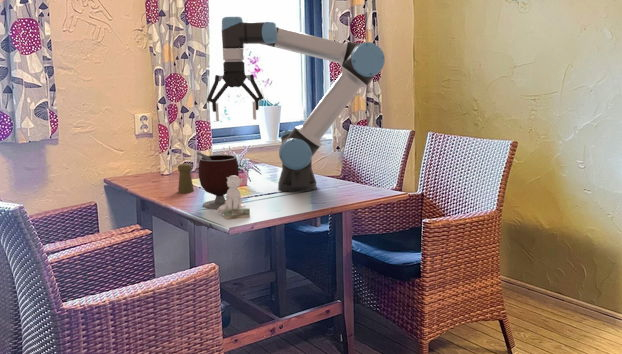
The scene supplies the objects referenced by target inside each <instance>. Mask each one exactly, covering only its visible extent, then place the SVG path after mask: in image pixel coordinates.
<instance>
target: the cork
mask: <svg viewBox="0 0 622 354" xmlns="http://www.w3.org/2000/svg"><path fill="white" fill-rule="evenodd" d="M177 170H178V172H179V177H178V187H177V188H178V190H177V192H178V193H179V194H189V193H194V191H195V190H194V183H193V180H192V179H193V178H192V175H191V172H192V165H191V164H190V163H186V162H185V163H179V165H178V166H177Z"/></svg>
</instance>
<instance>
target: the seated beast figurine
mask: <svg viewBox="0 0 622 354" xmlns="http://www.w3.org/2000/svg"><path fill="white" fill-rule="evenodd" d="M226 178H227V180H228V181H227V185H228V187H229V189H228V190H227V194H225V200H226V201H225V204H223V205H221V206H220V207H219V208H218V209H216V210H217V213H218V214H222V215H223V213H225V210H228V209H242V208H247V207H246V205H244V202H243V199H242V195H241V192H240V189H239V187H241V185H242V183H243V180H244V178H243V177H242V178H241V179H240V177H239V176H235V175H232V176H230V177H229V178H228V177H226Z"/></svg>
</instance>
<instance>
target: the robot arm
mask: <svg viewBox="0 0 622 354" xmlns="http://www.w3.org/2000/svg"><path fill="white" fill-rule="evenodd" d="M221 39H222V40H221V42H222V43H221V44H222V59H223V63H222V64H223V75H218V74H216V75H215V77H214V82H213V84H212V87H211V89H210V91H209V93H208V96H207V98H206V101H208V102H209V103H212V112H213V113H215V121H216V122H220V118H219V116H220V115H219V103H218V102H217V101H218V100H219V98H220V97H221V96H222V95H223V93H224V92H225V91H226V90H227V89H228V88H229V87H230V88H240V87H242V88H243V89H244V90H245V92H246V93H247V94H248V95H249V96H250V97H251V98H252V99H253V101H252V119H253V121H254V120H257V111H259V108H260V107H259V106H260V105H259V102H260V101H262V100H264V95H263V94H262V92H261V90H260V88H259V86H258V84H257V82H256V80H255V76H254V75H255V74H253V73H250V74H246V70H245V69H246V68H245V67H246V66H245V61H244V60H245V50H244V49H245V48H244V47H245V46H244V45H245V44H246V45H248V44H251V45H253V44H254V45H256V44H257V45H258V44H259V45H265V46H268V47H271V48H275V49H276V48H277V49H281V50H285V51H287V52H292V53H293V52H294V53H296V54H300V55H301V54H302V55H305V56H309V57H311V58H312V57H313V58H315V59H316V58H317V59H321V60H324V61H329V62H332V63H333V62H334V63H337V64H338V65H339V66H340V67H341V73H340V75H339V76H338V77H337V78H336V80H335V81H334V82H333V84H332V85H331V86H330V88H328V90H327V91H326V93H324V96H323V97H322V98H321V99H320V100H319V102H318V103H317V105H316V106H315V108H314V109H313V110H312V111H311V113H309V115H308V116H307V118H306V119H305V121H303V123H302V124H301V125H297V126H295V127H294V128H293V129H292V130H282V131H281V135H280V141H281V145H280V147H279V150H278V157H279V159H280V162H281V165H282V166H281V172H280V175H279V179H278V183H277V184H278V185H277V186H278V190H279V191H284V192H291V193H296V192H297V193H299V192H309V191H313V190H316V189H317V180H316V177H315V174H314V171H313V167H312V166H313V165H312V159H313V158H312V157H314V155H315V154H316V153H317V151H318V150H319V148H320V147H321V139H322V138H323V137H324V135H326V133H327V131H328V130H329V129H330V128H331V126H332V125H333V124H334V123H335V121H336V120H337V119H338V117H339V116H340V114H341V113H342V112H343V111H344V110H345V108H346V107H347V106H348V104H349V103H350V101H351V100H352V99H353V98H354V97H355V95H357V93H358V92H359V90H360V89H361V88H366V87H368V86H369V84H370V83H371V81H372V80H373V79H374V78H375V77H376V75H378V74H379V73H380V72H381V71H382V70H383V68H384V65H385V54H384V51H383V50H382V48H381V47H380V46H379V45H377V44H376V43H374V42H370V41H366V42H362V43H359V42H353V41H352V42H350V41H349V40H348V41H345V42H339V41H336V40H331V39H328V38H324V37H319V36H316V35H311V34H309V33H303V32H300V31H299V32H298V31H296V30H291V29H287V28H284V27H279V26H277V23H276V22H275V21H254V22H253V21H252V22H246V21H244V20H243V17H242V16H224V17H223V18H222V20H221ZM246 79H247V80H248V81H250V83H251V85H252V87H253V90H254V91H255V93H256V94H255V93H254V92H253V91H252V90H251V89H250V88H249V87H248V85H247V84H246V83H244V82H245V81H246ZM222 80H223V81H224V82H225V83H224V84H223V86H222V87H221V88H220V89H219V91H218V92H217V93H216V94H215V92H216V90H217V87H218V85H219V82H221V81H222ZM214 94H215V96H214ZM256 95H257V96H256ZM213 96H214V97H213Z"/></svg>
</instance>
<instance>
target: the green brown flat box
mask: <svg viewBox="0 0 622 354" xmlns="http://www.w3.org/2000/svg"><path fill="white" fill-rule="evenodd" d="M250 209H251V208H250V207H246V208H242V209H228V210H225V213H223V214H222V215H223V217H225V218H224V219H227V220H237V219H250V218H251V212H250Z"/></svg>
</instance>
